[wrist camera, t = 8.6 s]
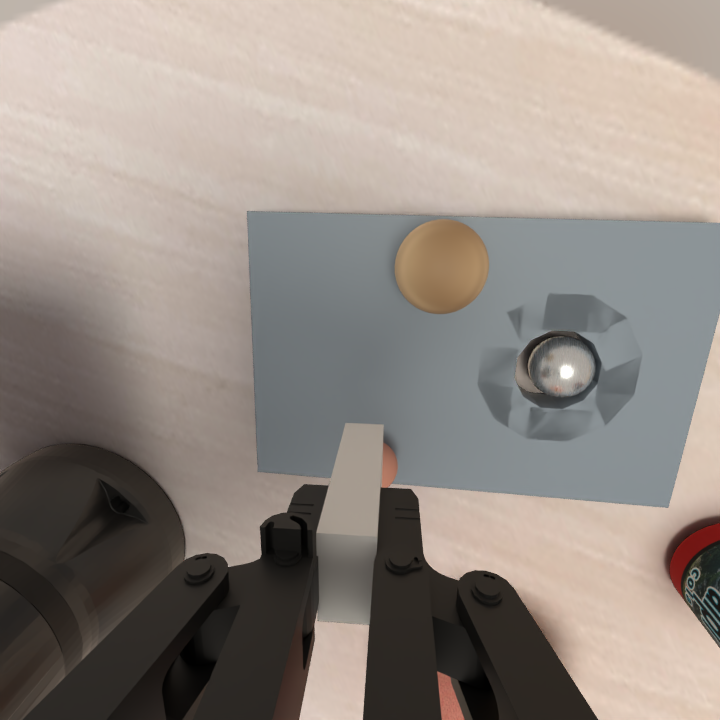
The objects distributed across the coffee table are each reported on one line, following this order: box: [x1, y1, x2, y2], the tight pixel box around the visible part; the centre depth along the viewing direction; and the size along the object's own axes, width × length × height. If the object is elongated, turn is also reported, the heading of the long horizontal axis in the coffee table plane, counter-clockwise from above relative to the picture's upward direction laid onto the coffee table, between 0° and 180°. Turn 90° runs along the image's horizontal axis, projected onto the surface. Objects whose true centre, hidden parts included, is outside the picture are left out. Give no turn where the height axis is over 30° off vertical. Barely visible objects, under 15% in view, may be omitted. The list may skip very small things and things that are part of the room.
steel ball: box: [528, 336, 596, 397], centre depth 24 cm, size 4×4×4 cm
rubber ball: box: [382, 442, 398, 488], centre depth 25 cm, size 3×3×3 cm
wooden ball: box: [395, 219, 489, 314], centre depth 21 cm, size 4×4×4 cm
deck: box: [247, 211, 720, 508], centre depth 25 cm, size 25×16×2 cm, turn 88°
